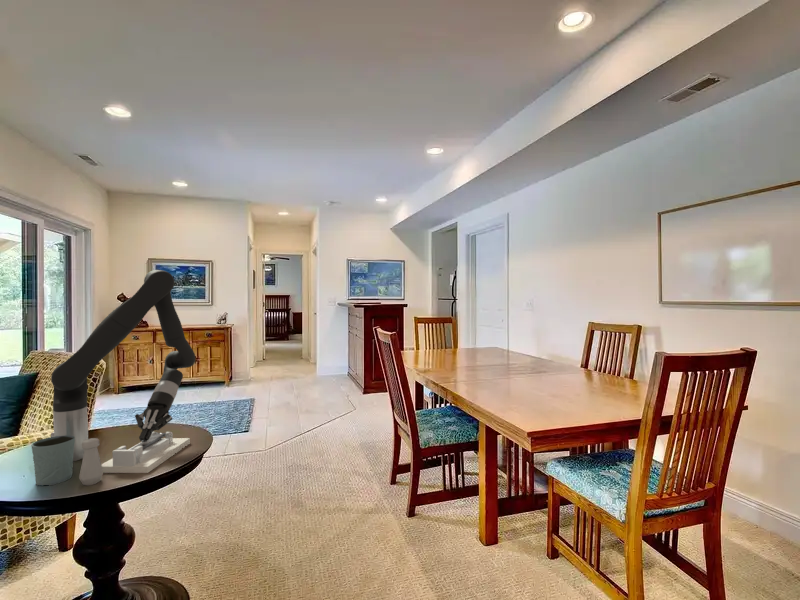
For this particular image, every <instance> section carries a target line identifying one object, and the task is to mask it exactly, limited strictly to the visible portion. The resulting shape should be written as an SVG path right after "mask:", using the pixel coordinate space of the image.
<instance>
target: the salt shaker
mask: <svg viewBox="0 0 800 600" xmlns="http://www.w3.org/2000/svg"><path fill="white" fill-rule="evenodd" d="M99 446H100V439H99V438H98V437H91V438H88V439H87V440H84V441H83V442H82V449H84V455H83V458H82V459H81V460H82V462H81V466H80V471H79V475H78V478H79V481H80V483H82V486H92V485H95V484H97V483H99V482H101V480H102V477H103V476H104V475H103V474H104V473H103V470H102V465H101V464H102V461H101V458H100V453H99V449H98V447H99Z"/></svg>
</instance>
